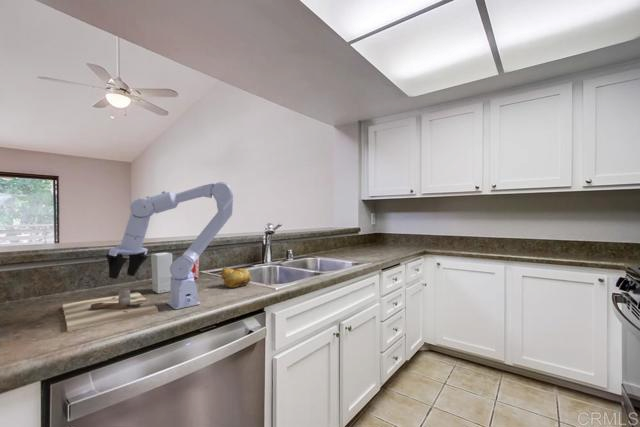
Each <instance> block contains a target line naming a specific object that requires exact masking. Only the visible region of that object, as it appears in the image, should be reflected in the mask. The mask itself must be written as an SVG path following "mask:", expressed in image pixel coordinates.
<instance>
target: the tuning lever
mask: <svg viewBox="0 0 640 427" xmlns="http://www.w3.org/2000/svg"><path fill="white" fill-rule="evenodd" d="M130 293H131V289H121V290H118V295H119V303H94V304H91V309H99V308H126V307H140V304H130Z"/></svg>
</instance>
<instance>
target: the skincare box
mask: <svg viewBox="0 0 640 427" xmlns="http://www.w3.org/2000/svg"><path fill="white" fill-rule="evenodd" d="M150 256H151V260H150V261H151V285H152V286H151V287H152V288H151V289H152V291H153V292H154V293H156V294H161V293H162V294H163V293H169V292H170V293H171V276H172V275H171V273H170V266H171V264H172V263H173V253H171V252H158V253H151V255H150Z"/></svg>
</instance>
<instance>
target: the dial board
mask: <svg viewBox="0 0 640 427" xmlns="http://www.w3.org/2000/svg"><path fill="white" fill-rule="evenodd" d="M94 303H119V294H118V295H117V294H116V295H110V296H106V297H104V296H103V297H99V298H93V299H92V298H91V299H88V300H81V301H75V302H69V303H62V312H63V311H64V312H63V316H65V317H64V321H65V326H66V330H67V332H72V331H77V330H80V329H81V330H82V329H85V328H90V327H96V326H101V325H105V324H109V323H114V322H119V321H123V320H129V319H133V318H137V317H142V316H147V315H152V314H156V313H159V308H158V306H156V305H155V304H154V303H152V301H149V300H148V299H147V298H146V297H145V296H143V295H142V294H141V293H140V292H137V291H136V292H130V304H140V307H126V308H99V309H91V304H94Z"/></svg>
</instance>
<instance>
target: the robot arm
mask: <svg viewBox="0 0 640 427" xmlns="http://www.w3.org/2000/svg"><path fill="white" fill-rule="evenodd" d="M145 197H146V198H137V199H136V200H135V199H134V201H132V202H131V203H130V207H129V208H130V214H129V218H128V221H127V224H126V227H125V231H124V233H123V237H122V240H121V243H120V245H117V247H112V248H110V249H109V251H108V253H106V260H107V263H108V278H109V279H112V280H113V279H114V280H116V279H118V277H119V275H120V272H121V269H122V268H123V266H124V264H126V262H127V260H128V266H127V272H126V274H127V276H131V277H135V275H136V274H137V271H138V270H139V269H140V268H141V265H143V264H144V262H145V261H146V260H147V259H148V257H149V256H148V255H147V253H148V250H149V248H146V247H143V244H144V241H145V237H146V234H147V230H148V227H149V224H150V223H149V222H150V219H151V216H153V215H154V214H159V213H163V212H165V211H169V210H173V209H176V208H177V207H178V204H180V203H184V202H187V201H191V200H192V201H193V200H195V199H200V198H202V197H203V198H209V199H212V198H214V200H215V201H216V209H217V212H216V213H215V215H214V216H213V217H212V218H211V220H210V221H209V222H208V223H207V225H206V226H205V227H204V228H203V230H202V231H201V232H200V233H199V234H198V235H197V237H195V240H193V242H192V243H191V245H190V246H189V247H188V248H187V249H186V251H184V252H185V253H184V252H183V253H184V254H183V253H182V255H181V256H179V257H177V258H176V259H175V260H174V261H172V264H171V266H170V273H171V275H172V276H171V292H170V300H168V301H166V304H167V305H168V306H170V307H172V308H173V309H174V310H179V309H183V308H184V309H185V308H187V307H193V306H197V305H198V306H199V305H200V304H201V302H200V301H199V300H198V284H197V283H196V282H195V281H194V274H193V273H192V272H191V270H192V269H193V267H194V262H195V261H196V260H197V258H198V257H199V258H200V256H201V255H202V253H204V251H205V249H206V248H207V247H208V246H209V244H210V243H211V242H212V241H213V239H214V238H215V237H216V236H217V235H218V233H219V232H220V230H221V229H222V228H223V227H224V226H225V224H227V222H228V220H229V219H230V218H231V217H232V215H233V210H234V209H233V207H234V205H233V204H234V203H233V202H234V194H233V190H232V188H231V186H230V185H229V184H228V183H227V182H224V181H219V182H216V183H209V184H208V183H207V184H203V185H201V186H196V187H194V188H190V189H187V190H184V191H182V192H178V193H174V192H172V191H167V190H163V191H161V193H159V194H157V195H153V196H150V195H148V196H147V195H146V196H145ZM125 255H126V256H128V258H129V259H128V258H127V257H124V256H125Z"/></svg>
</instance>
